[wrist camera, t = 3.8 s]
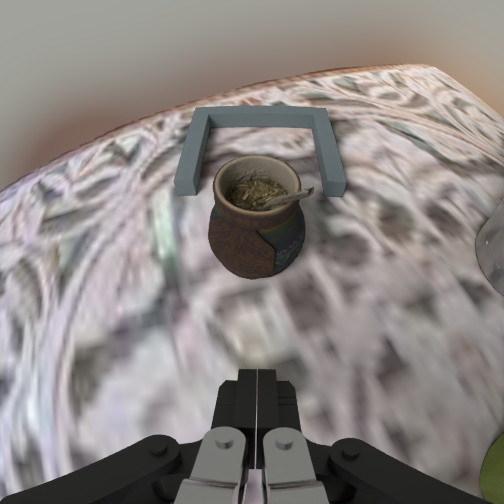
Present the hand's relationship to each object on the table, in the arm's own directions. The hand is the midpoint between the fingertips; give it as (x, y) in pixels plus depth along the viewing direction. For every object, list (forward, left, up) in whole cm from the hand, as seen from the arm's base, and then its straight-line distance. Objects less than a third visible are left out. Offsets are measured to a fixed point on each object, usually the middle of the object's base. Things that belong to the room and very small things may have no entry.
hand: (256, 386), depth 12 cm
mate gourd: (0, -12, -9) cm, 15 cm away
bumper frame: (0, -24, -8) cm, 26 cm away
